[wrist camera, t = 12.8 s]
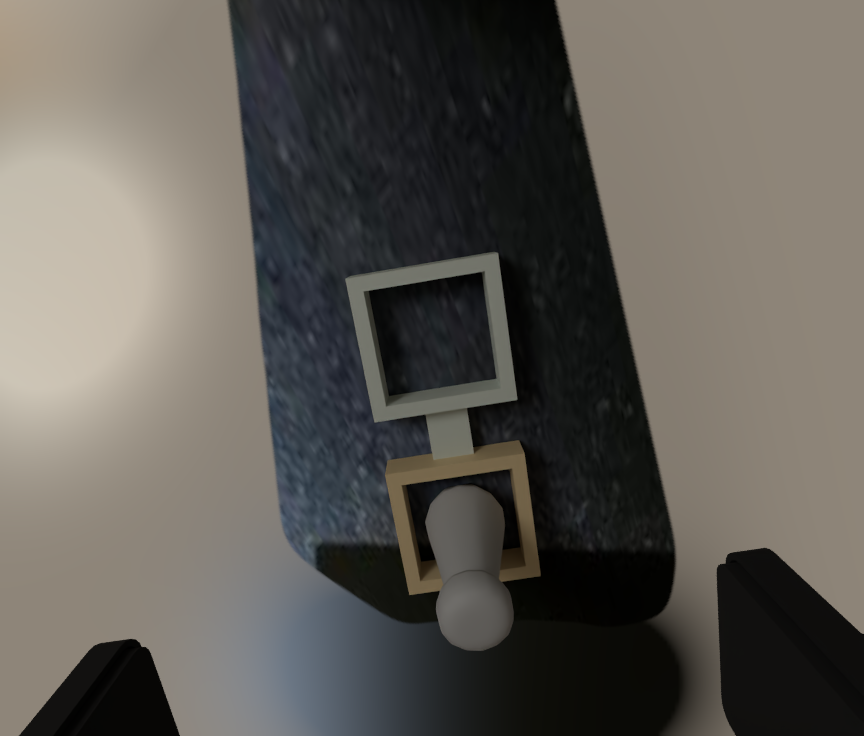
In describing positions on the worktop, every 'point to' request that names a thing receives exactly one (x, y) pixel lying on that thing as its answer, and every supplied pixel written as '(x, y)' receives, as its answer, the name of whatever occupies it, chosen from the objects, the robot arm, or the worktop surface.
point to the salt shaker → (470, 567)
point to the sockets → (446, 418)
